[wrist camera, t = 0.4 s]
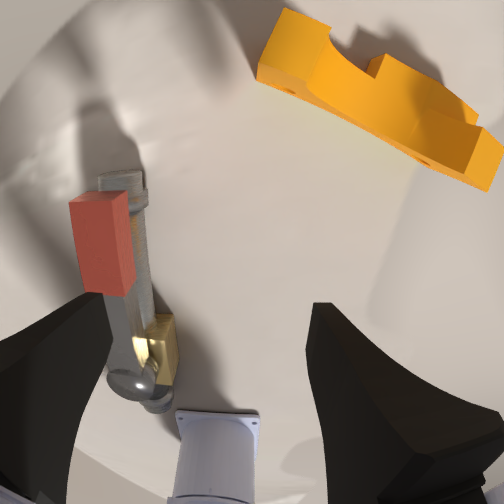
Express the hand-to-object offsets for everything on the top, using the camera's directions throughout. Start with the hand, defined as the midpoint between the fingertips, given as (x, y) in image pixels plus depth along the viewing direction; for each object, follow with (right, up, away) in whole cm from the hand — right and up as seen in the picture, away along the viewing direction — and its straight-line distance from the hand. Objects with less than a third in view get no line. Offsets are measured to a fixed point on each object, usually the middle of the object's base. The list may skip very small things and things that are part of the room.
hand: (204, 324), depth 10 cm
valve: (-6, -1, +11) cm, 13 cm away
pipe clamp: (+8, +12, +6) cm, 16 cm away
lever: (-6, -1, +7) cm, 10 cm away
